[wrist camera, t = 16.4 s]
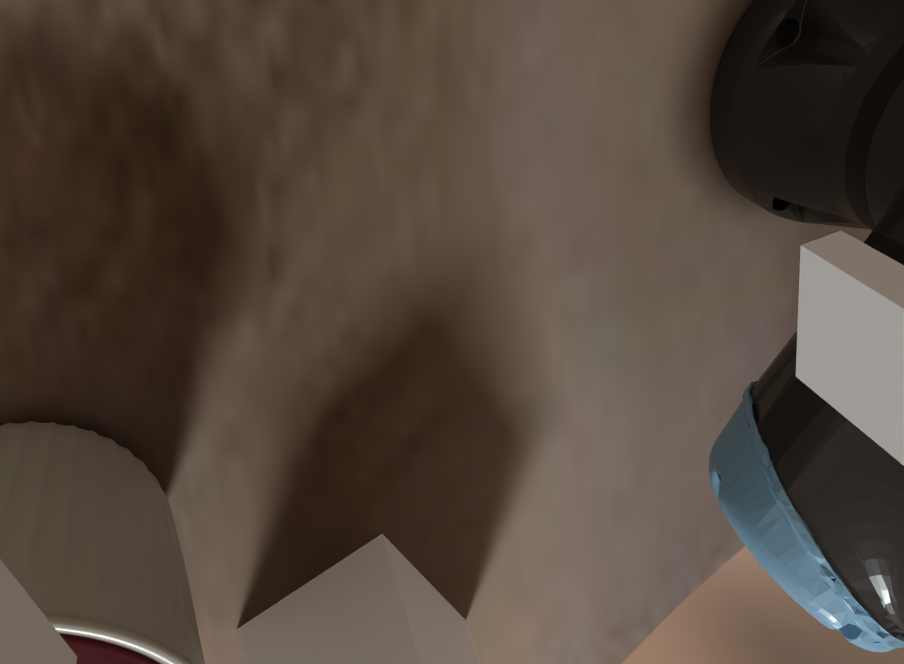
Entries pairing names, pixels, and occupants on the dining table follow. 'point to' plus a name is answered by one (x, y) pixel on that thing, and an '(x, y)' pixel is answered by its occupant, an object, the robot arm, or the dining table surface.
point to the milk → (361, 617)
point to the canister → (95, 546)
